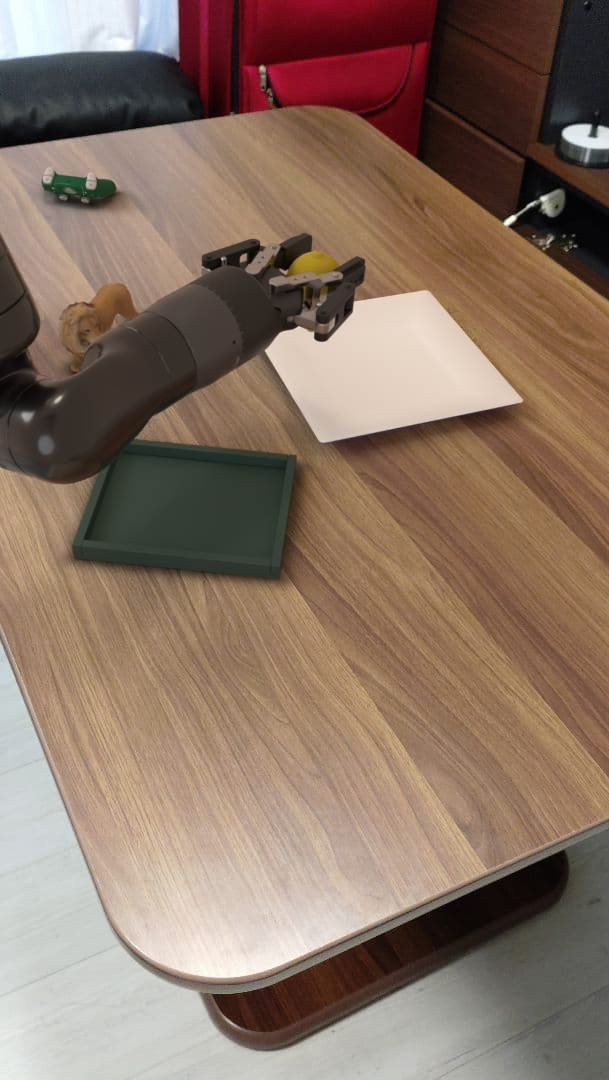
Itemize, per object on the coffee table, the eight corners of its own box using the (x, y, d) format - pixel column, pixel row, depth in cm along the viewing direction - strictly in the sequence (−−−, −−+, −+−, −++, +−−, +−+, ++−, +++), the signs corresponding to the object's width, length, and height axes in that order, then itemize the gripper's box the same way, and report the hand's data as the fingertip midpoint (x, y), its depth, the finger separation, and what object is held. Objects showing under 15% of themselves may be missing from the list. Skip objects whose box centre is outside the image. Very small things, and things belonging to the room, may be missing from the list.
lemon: (304, 354, 87) (310, 273, 81) (269, 324, 90) (272, 245, 84) (353, 337, 89) (362, 257, 83) (317, 308, 92) (324, 230, 86)
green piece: (47, 203, 131) (32, 187, 125) (51, 175, 131) (36, 158, 125) (114, 212, 130) (101, 196, 124) (118, 184, 130) (106, 167, 124)
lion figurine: (105, 398, 99) (96, 322, 92) (55, 390, 99) (43, 313, 93) (149, 321, 109) (144, 248, 102) (104, 314, 109) (96, 240, 103)
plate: (245, 333, 108) (245, 317, 107) (425, 303, 115) (428, 287, 113) (319, 458, 94) (320, 441, 92) (520, 415, 100) (525, 399, 99)
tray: (73, 558, 83) (71, 545, 82) (113, 449, 93) (111, 436, 92) (279, 579, 82) (280, 566, 81) (296, 467, 93) (296, 454, 92)
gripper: (276, 325, 71) (406, 244, 81) (136, 255, 77) (274, 188, 87) (272, 408, 76) (395, 322, 86) (141, 336, 82) (271, 264, 92)
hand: (333, 255), depth 86 cm, fingers closed on lemon, 5 cm apart
